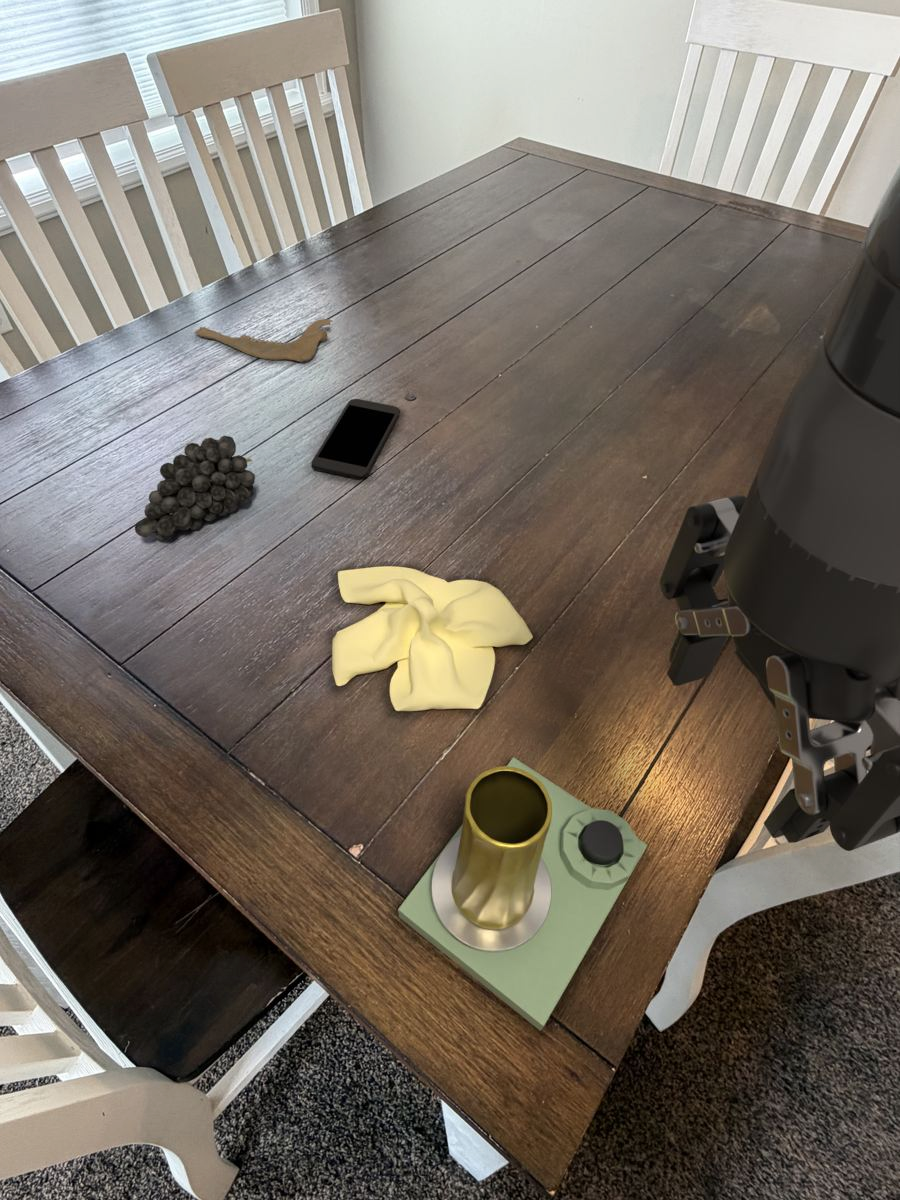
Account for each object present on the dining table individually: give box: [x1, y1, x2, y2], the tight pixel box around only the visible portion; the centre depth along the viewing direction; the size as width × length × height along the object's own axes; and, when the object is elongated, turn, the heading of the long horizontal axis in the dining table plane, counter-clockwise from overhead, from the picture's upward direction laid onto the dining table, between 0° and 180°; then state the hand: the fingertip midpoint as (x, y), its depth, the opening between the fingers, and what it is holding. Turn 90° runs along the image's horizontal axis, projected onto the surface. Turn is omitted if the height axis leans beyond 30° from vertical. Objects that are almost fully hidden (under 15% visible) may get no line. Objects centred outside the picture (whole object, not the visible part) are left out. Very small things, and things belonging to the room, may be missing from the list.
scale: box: [397, 757, 648, 1032], centre depth 57 cm, size 16×13×4 cm
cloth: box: [331, 565, 534, 712], centre depth 72 cm, size 22×19×6 cm
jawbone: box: [193, 318, 333, 362], centre depth 107 cm, size 9×20×2 cm, turn 95°
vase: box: [452, 765, 552, 929], centre depth 49 cm, size 6×6×14 cm
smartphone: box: [311, 398, 401, 480], centre depth 94 cm, size 7×15×1 cm, turn 165°
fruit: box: [134, 435, 256, 541], centre depth 82 cm, size 9×8×15 cm
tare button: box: [581, 820, 623, 865], centre depth 57 cm, size 3×3×2 cm
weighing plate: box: [431, 835, 552, 953], centre depth 55 cm, size 9×9×1 cm
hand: (732, 745), depth 35 cm, fingers open, 8 cm apart
